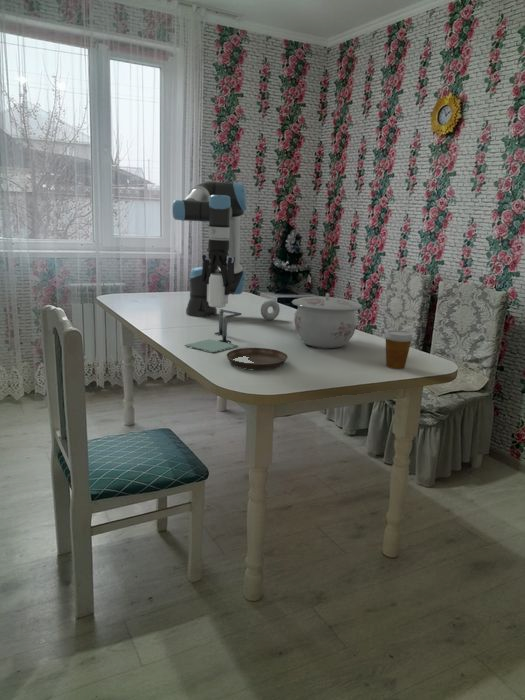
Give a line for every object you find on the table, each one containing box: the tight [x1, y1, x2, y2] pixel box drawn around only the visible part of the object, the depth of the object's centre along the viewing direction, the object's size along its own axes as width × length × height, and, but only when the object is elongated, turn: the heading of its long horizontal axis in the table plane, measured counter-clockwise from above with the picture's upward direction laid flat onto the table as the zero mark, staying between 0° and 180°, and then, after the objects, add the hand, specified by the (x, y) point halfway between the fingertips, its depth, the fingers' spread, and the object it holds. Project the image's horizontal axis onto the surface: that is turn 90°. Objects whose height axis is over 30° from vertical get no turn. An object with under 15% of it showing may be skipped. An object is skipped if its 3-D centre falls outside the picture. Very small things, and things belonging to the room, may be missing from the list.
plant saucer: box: [225, 347, 288, 371], centre depth 181 cm, size 21×21×3 cm
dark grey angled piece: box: [214, 308, 242, 343], centre depth 215 cm, size 14×14×10 cm
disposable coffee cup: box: [384, 329, 414, 370], centre depth 185 cm, size 10×10×12 cm
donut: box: [260, 299, 281, 321], centre depth 257 cm, size 10×4×10 cm, turn 117°
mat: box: [184, 338, 238, 352], centre depth 201 cm, size 14×14×1 cm
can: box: [209, 273, 227, 309], centre depth 199 cm, size 6×6×12 cm
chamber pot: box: [291, 292, 363, 350], centre depth 211 cm, size 28×28×21 cm
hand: (217, 302), depth 200 cm, fingers closed on can, 6 cm apart
